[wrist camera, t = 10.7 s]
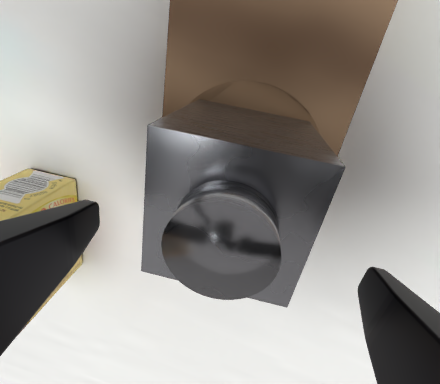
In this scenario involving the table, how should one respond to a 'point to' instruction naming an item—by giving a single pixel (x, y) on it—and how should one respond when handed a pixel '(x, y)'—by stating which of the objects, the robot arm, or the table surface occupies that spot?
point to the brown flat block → (276, 57)
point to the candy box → (36, 200)
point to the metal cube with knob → (234, 200)
